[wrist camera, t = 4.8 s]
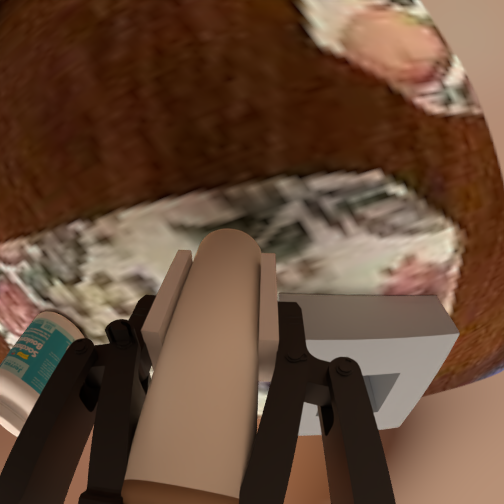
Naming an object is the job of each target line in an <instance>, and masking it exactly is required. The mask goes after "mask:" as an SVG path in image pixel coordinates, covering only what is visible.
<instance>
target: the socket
mask: <svg viewBox="0 0 504 504" xmlns="http://www.w3.org/2000/svg"><path fill="white" fill-rule="evenodd" d="M279 301H280V302H297V303H298V305H299V306H300V307H301V309H302V315H303V324H304V331H305V338H306V346H307V350H308V351H309V353H310V354H311V355H312V356H314V357H316V358H318V359H320V360H324V361H328V362H331V361H332V360H333V359H335V358H337V357H349V358H351V359H353V360H355V361H356V362H357V363H358V365H359V366H360V369H361V372H362V375H363V378H364V382H365V385H366V388H367V392H368V395H369V399H370V402H371V406H372V409H373V413H374V416H375V420H376V424H377V427H378V430H382V429H388V428H396V427H399V426H400V425H401V424H402V422H403V421H404V420H405V418H406V417H407V416H408V414H409V413H410V412H411V411H412V409H413V408H414V406H415V405H416V404H417V402H418V401H419V399H420V398H421V396H422V395H423V394H424V392H425V391H426V389H427V388H428V386H429V385H430V383H431V382H432V380H433V378H434V377H435V375H436V374H437V372H438V371H439V369H440V367H441V366H442V364H443V362H444V361H445V359H446V357H447V356H448V354H449V352H450V350H451V349H452V347H453V345H454V343H455V341H456V339H457V338H458V336H459V334H460V333H459V331H458V329H457V328H456V326H455V324H454V323H453V321H452V320H451V318H450V316H449V315H448V313H447V312H446V310H445V308H444V307H443V305H442V304H441V302H440V301H439V299H438V298H437V296H436V295H427V296H366V295H315V294H285V293H279ZM270 384H271V382H270ZM298 435H322V434H321V427H320V421H319V414H318V408H317V405H313V404H310V403H306V402H304V405H303V411H302V416H301V422H300V427H299V433H298Z"/></svg>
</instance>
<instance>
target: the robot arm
mask: <svg viewBox="0 0 504 504" xmlns="http://www.w3.org/2000/svg"><path fill="white" fill-rule="evenodd" d="M191 266H192V253H191V250H178V252H177V254H176V256H175V258H174V260H173V262H172V264H171V266H170V268H169V270H168V272H167V275H166V277H165V279H164V281H163V283H162V285H161V287H160V289H159V292H158V294H157V296H155V295H145V296H144V297H142V298H141V299H140V300H139V301H138V303H137V305H136V307H135V309H134V311H133V313H132V315H131V317H130V319H129V321H128V320H124V319H120V320H115V321H113V322H111V323H110V324H109V325H107V327H106V329H105V332H106V334H107V337H108V339H109V342H110V343H109V344H104V345H95V346H94V344H93V342H92V341H91V340H89V339H87V338H81V339H77V340H75V341H74V342H72V343H71V345H70V346H69V347H68V349H67V350H66V352H65V354H64V355H63V357H62V358H61V360H60V362H59V363H58V365H57V367H56V368H55V370H54V372H53V373H52V375H51V377H50V378H49V380H48V382H47V383H46V385H45V387H44V389H43V390H42V392H41V394H40V396H39V398H38V399H37V401H36V403H35V405H34V407H33V408H32V410H31V412H30V414H29V416H28V418H27V420H26V422H25V424H24V426H23V428H22V430H21V432H20V434H19V436H18V438H17V440H16V442H15V444H14V446H13V448H12V450H11V452H10V454H9V457H8V459H7V461H6V463H5V466H4V468H3V470H2V472H1V475H0V504H64V501H65V497H66V495H67V492H68V489H69V486H70V484H71V481H72V478H73V476H74V472H75V470H76V467H77V465H78V462H79V460H80V457H81V455H82V452H83V449H84V447H85V444H86V442H87V440H88V437H89V435H90V432H91V430H92V428H93V425H94V429H93V437H92V444H91V453H90V462H89V472H88V484H87V490H86V491H85V492H83V493H82V494H81V495H80V497H79V502H78V504H123V497H122V496H121V491H122V487H123V483H124V479H125V475H126V470H127V464H128V458H129V453H130V449H131V445H132V441H133V437H134V434H135V431H136V427H137V424H138V420H139V417H140V414H141V410H142V407H143V404H144V401H145V398H146V394H147V391H148V388H149V385H150V382H151V376H150V373H149V371H150V368H151V366H152V367H153V370H155V366H156V363H157V360H158V357H159V355H160V352H161V349H162V346H163V343H164V340H165V337H166V334H167V331H168V328H169V326H170V323H171V320H172V317H173V314H174V311H175V309H176V306H177V303H178V300H179V298H180V295H181V292H182V290H183V287H184V284H185V282H186V279H187V276H188V274H189V271H190V268H191ZM258 357H259V380H258V381H268V382H271V384H270V388H269V391H268V395H267V399H266V403H265V406H264V410H263V414H262V417H261V421H260V425H259V428H258V432H257V435H256V439H255V442H254V446H253V449H252V452H251V456H250V459H249V462H248V466H247V469H246V472H245V475H244V479H243V482H242V485H241V488H240V492H239V504H283V503H284V498H285V494H286V490H287V486H288V481H289V477H290V472H291V467H292V463H293V458H294V453H295V448H296V443H297V438H298V433H299V427H300V422H301V416H302V411H303V405H304V402H306V403H310V404H313V405H317V408H318V414H319V421H320V427H321V434H322V440H323V447H324V454H325V461H326V469H327V476H328V483H329V492H330V499H331V504H396V503H395V499H394V494H393V489H392V484H391V480H390V475H389V471H388V467H387V463H386V459H385V454H384V451H383V447H382V443H381V439H380V435H379V431H378V427H377V424H376V420H375V416H374V413H373V409H372V406H371V402H370V399H369V395H368V392H367V388H366V385H365V382H364V378H363V375H362V372H361V369H360V366H359V365H358V363H357V362H356V361H355V360H353V359H351V358H349V357H337V358H335V359H333V360H332V361H331V362H328V361H324V360H320V359H318V358H316V357H314V356H312V355H311V354H310V353H309V351H308V350H307V346H306V338H305V331H304V324H303V315H302V309H301V307H300V306H299V305H298V303H297V302H280V301H277V280H276V260H275V253H261V281H260V315H259V346H258Z"/></svg>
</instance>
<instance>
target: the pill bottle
mask: <svg viewBox="0 0 504 504" xmlns="http://www.w3.org/2000/svg"><path fill="white" fill-rule="evenodd" d="M81 338H84V336H83V334H82V333H81V332H80V330H79V329H78V328H77V327H76V326H75V325H74V324H73V323H72V322H71V321H69V320H68V319H67V318H65V317H64V316H62V315H60V314H58V313H55V312H51V311H45V312H42V313H40V314H39V315H37V316H36V318H35V319H34V320H33V321H32V323H31V324H30V325H29V327H28V328H27V329H26V330H25V332H24V333H23V334H22V336H21V337H20V338H19V340H18V341H17V342H16V344H15V345H14V346H13V348H12V349H11V350H10V352H9V353H8V354H7V356H6V357H5V358H4V360H3V361H2V363H1V364H0V424H1V425H2V426H3V427H4V428H5V429H7V430H8V431H9V432H11V433H12V434H13V435H15V436H17V437H18V436H19V434H20V432H21V430H22V428H23V426H24V424H25V422H26V420H27V418H28V416H29V414H30V412H31V410H32V408H33V407H34V405H35V403H36V401H37V399H38V398H39V396H40V394H41V392H42V390H43V389H44V387H45V385H46V383H47V382H48V380H49V378H50V377H51V375H52V373H53V372H54V370H55V368H56V367H57V365H58V363H59V362H60V360H61V358H62V357H63V355H64V354H65V352H66V350H67V349H68V347H69V346H70V345H71V343H72V342H74V341H75V340H77V339H81Z"/></svg>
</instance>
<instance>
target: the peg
mask: <svg viewBox="0 0 504 504" xmlns="http://www.w3.org/2000/svg"><path fill="white" fill-rule="evenodd" d="M260 281H261V250H260V248H259V246H258V244H257V242H256V241H255V240H254V239H253V238H252V237H251V236H250V235H248V234H246V233H245V232H243V231H240V230H236V229H230V228H226V229H219V230H216V231H213V232H211V233H210V234H208V235H207V236H206V237H205V238H204V239H203V240H202V242H201V243H200V245H199V248H198V250H197V253H196V255H195V258H194V261H193V263H192V266H191V268H190V271H189V274H188V276H187V279H186V282H185V284H184V287H183V290H182V292H181V295H180V298H179V300H178V303H177V306H176V309H175V311H174V314H173V317H172V320H171V323H170V326H169V328H168V331H167V334H166V337H165V340H164V343H163V346H162V349H161V352H160V355H159V357H158V360H157V363H156V366H155V370H154V373H153V376H152V379H151V382H150V385H149V388H148V391H147V394H146V398H145V401H144V404H143V407H142V410H141V414H140V417H139V420H138V424H137V427H136V431H135V434H134V437H133V441H132V445H131V449H130V453H129V458H128V464H127V470H126V475H125V479H124V483H123V487H122V491H121V496H122V497H123V504H239V492H240V488H241V485H242V482H243V479H244V475H245V472H246V469H247V466H248V462H249V459H250V456H251V452H252V449H253V446H254V442H255V439H256V435H257V410H258V380H259V357H258V346H259V315H260Z"/></svg>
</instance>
